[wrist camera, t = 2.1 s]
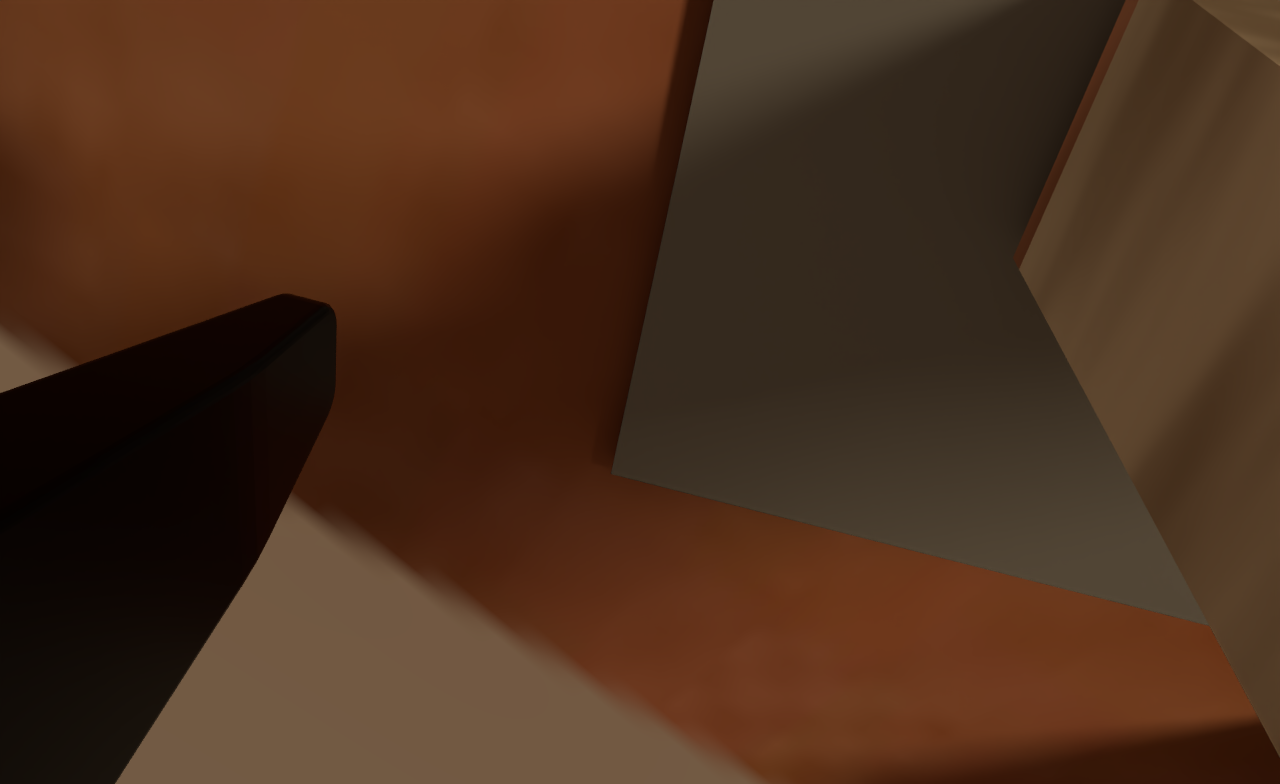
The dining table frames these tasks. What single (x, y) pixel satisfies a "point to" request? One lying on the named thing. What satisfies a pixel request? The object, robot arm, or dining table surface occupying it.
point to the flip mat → (886, 293)
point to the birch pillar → (1182, 297)
